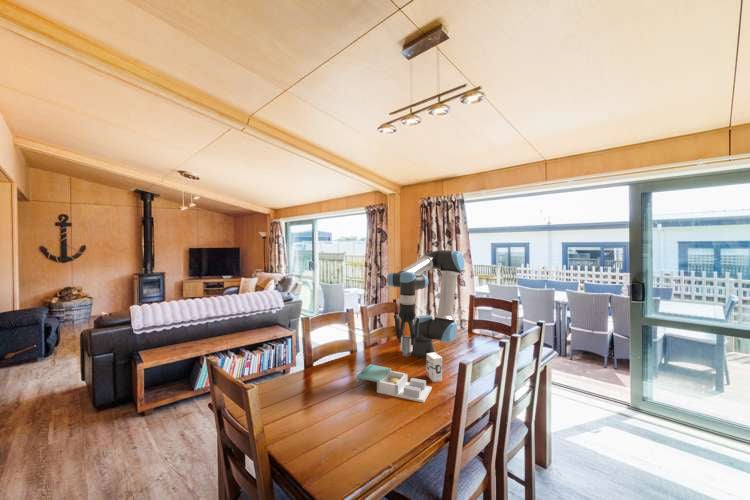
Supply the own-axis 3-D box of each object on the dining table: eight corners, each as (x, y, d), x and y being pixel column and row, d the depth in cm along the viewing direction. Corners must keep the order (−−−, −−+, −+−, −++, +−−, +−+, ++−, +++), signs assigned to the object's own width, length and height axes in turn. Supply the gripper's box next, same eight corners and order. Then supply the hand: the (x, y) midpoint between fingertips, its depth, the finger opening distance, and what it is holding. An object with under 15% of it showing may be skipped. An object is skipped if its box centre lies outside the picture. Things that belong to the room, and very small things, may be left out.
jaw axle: (404, 353, 158) (404, 335, 158) (411, 354, 156) (412, 336, 156) (401, 355, 154) (401, 337, 154) (409, 356, 153) (409, 338, 153)
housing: (388, 380, 156) (388, 370, 156) (431, 388, 147) (432, 378, 147) (376, 392, 144) (376, 381, 143) (423, 402, 134) (423, 391, 134)
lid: (369, 370, 161) (370, 362, 161) (391, 374, 156) (391, 365, 156) (356, 381, 147) (356, 372, 147) (379, 386, 143) (379, 377, 142)
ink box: (425, 375, 162) (425, 352, 162) (434, 374, 164) (434, 351, 163) (433, 382, 154) (433, 358, 154) (442, 381, 156) (442, 357, 155)
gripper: (388, 302, 155) (388, 350, 156) (421, 306, 148) (420, 355, 148) (394, 300, 162) (393, 345, 162) (426, 303, 155) (425, 351, 155)
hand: (406, 350), depth 155 cm, fingers closed on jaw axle, 4 cm apart
